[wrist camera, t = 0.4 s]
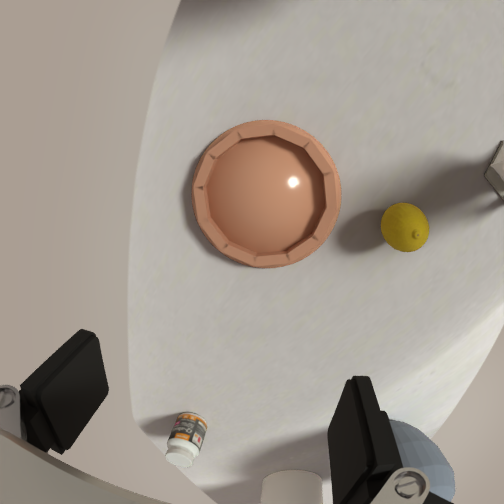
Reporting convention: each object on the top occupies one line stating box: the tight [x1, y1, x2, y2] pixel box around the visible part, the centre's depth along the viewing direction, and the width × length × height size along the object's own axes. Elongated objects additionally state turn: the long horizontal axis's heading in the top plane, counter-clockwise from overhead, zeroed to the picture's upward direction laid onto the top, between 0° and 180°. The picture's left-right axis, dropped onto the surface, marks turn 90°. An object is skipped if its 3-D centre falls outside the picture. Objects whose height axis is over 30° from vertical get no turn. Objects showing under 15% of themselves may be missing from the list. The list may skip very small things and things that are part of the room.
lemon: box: [381, 203, 429, 252], centre depth 32 cm, size 6×6×8 cm
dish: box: [192, 120, 341, 268], centre depth 35 cm, size 18×18×2 cm
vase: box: [389, 420, 455, 502], centre depth 34 cm, size 20×20×24 cm
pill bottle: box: [165, 412, 207, 468], centre depth 44 cm, size 6×6×10 cm
